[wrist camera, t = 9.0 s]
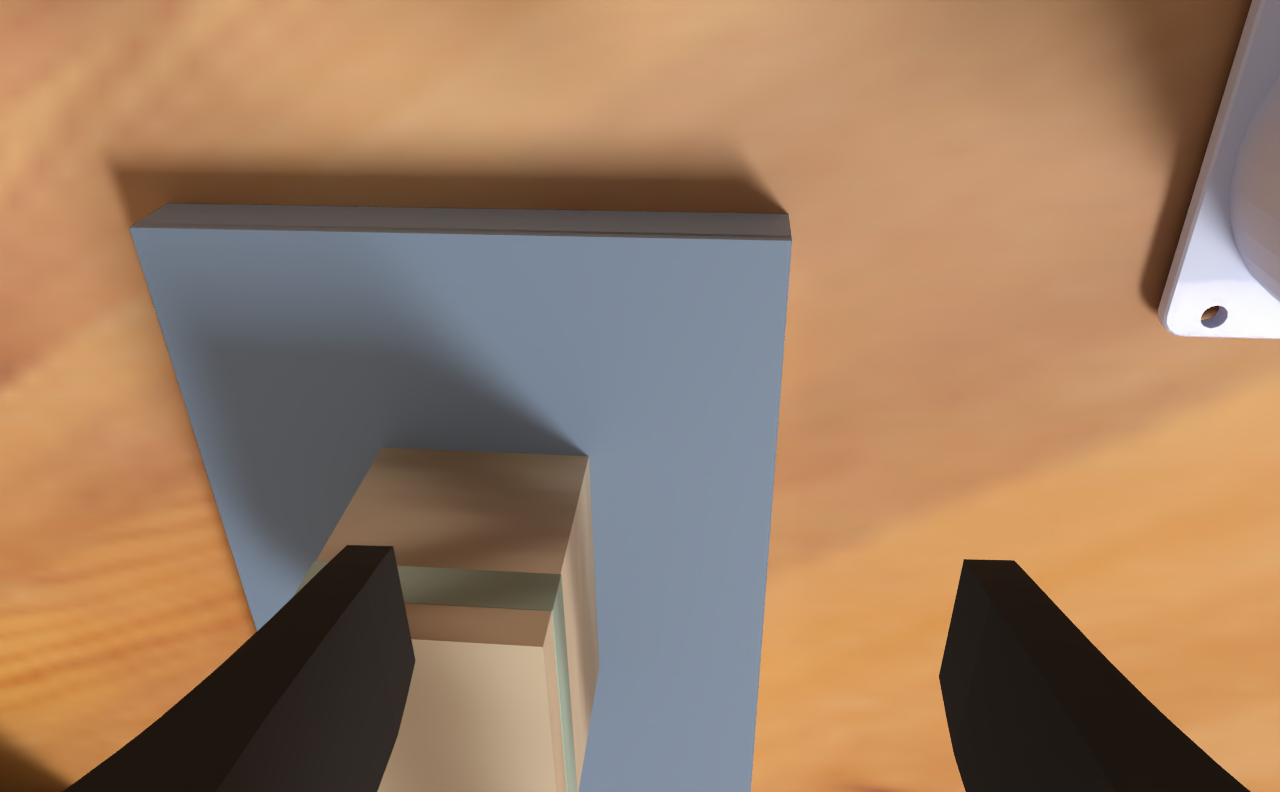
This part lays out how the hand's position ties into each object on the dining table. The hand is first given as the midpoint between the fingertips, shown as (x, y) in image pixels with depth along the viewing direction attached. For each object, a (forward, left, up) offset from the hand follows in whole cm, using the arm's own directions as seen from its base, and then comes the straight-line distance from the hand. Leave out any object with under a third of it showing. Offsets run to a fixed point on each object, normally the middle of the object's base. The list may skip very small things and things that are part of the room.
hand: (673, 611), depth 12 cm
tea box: (+5, +7, -9) cm, 13 cm away
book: (+5, +7, -11) cm, 14 cm away
